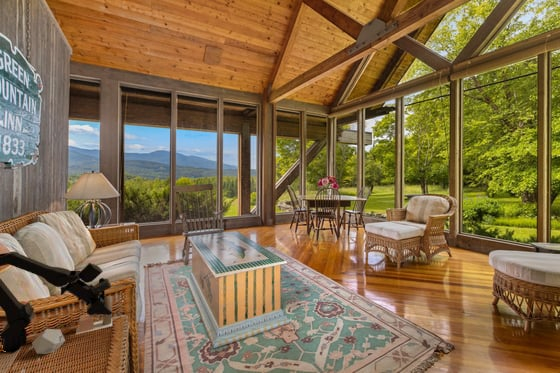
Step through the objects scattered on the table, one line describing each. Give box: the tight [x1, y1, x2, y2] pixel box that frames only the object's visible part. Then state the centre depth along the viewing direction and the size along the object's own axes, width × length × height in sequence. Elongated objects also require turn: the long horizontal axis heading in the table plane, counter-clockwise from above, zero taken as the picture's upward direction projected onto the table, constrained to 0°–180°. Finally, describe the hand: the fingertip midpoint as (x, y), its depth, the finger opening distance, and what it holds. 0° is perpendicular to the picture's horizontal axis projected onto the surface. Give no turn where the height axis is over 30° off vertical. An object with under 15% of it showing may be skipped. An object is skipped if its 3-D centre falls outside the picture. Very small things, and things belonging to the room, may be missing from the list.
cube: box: [78, 313, 95, 332], centre depth 110 cm, size 5×5×5 cm
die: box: [31, 328, 66, 355], centre depth 95 cm, size 8×9×10 cm
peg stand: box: [75, 295, 114, 335], centre depth 111 cm, size 13×7×13 cm, turn 126°
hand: (110, 309), depth 115 cm, fingers open, 9 cm apart
